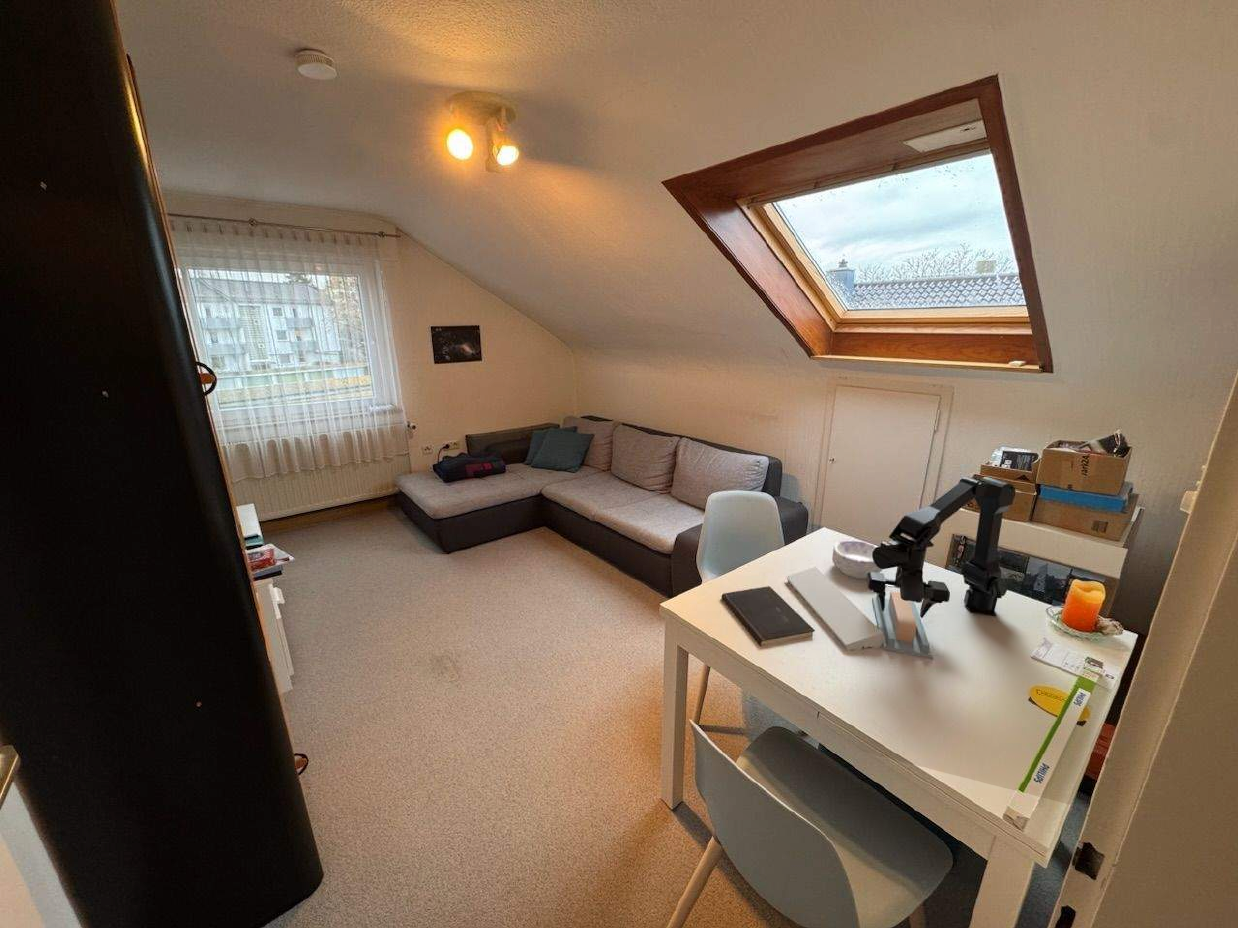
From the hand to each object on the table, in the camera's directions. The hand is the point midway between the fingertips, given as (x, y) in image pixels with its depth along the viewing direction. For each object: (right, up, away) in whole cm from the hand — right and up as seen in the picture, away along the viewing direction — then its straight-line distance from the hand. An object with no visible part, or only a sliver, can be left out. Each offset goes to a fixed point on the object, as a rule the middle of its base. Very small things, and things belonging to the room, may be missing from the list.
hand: (901, 613), depth 135 cm
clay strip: (0, -3, +1) cm, 3 cm away
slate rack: (0, -4, +1) cm, 4 cm away
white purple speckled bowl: (+2, +5, +30) cm, 30 cm away
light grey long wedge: (-16, -2, +9) cm, 18 cm away
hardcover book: (-35, -3, +7) cm, 36 cm away
